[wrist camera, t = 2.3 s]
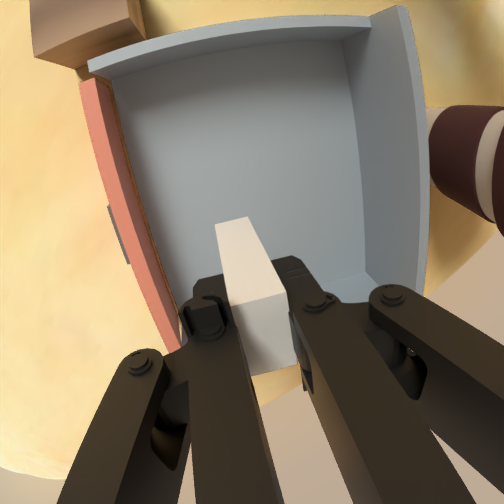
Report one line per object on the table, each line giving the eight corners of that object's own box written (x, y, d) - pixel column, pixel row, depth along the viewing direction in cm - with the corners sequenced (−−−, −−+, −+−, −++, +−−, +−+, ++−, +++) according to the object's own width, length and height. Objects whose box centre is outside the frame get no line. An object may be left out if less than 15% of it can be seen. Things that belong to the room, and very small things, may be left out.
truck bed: (112, 72, 19) (66, 51, 11) (341, 33, 20) (406, 6, 12) (184, 318, 28) (185, 394, 20) (367, 271, 30) (418, 325, 21)
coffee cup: (433, 211, 28) (545, 280, 15) (370, 156, 25) (509, 211, 11) (474, 136, 25) (589, 173, 12) (419, 73, 22) (557, 77, 9)
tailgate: (92, 92, 18) (73, 85, 14) (108, 87, 18) (94, 77, 14) (163, 319, 27) (166, 355, 22) (177, 315, 27) (182, 351, 23)
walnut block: (66, 8, 15) (29, -19, 9) (137, -18, 16) (119, -58, 10) (74, 69, 18) (34, 57, 12) (147, 43, 18) (129, 17, 12)
